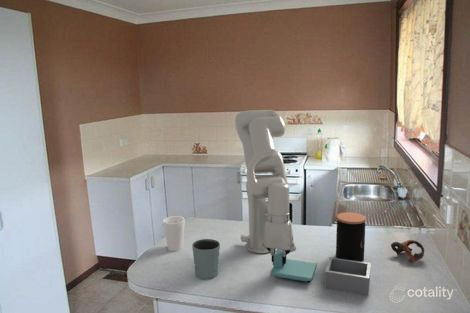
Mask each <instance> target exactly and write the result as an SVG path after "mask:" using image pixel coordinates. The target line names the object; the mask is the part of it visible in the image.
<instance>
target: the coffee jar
mask: <svg viewBox="0 0 470 313" xmlns="http://www.w3.org/2000/svg"><path fill="white" fill-rule="evenodd" d="M336 219H337V221H336V235H335V236H336V237H335V238H336V244H335V258H338V259H345V260H352V261H360V262H364V260H365V246H366V244H365V243H366V241H365V240H366V219H367V218H366V216H365V215H363V214H361V213H357V212H351V211H350V212H349V211H348V212H345V211H344V212H341V213H338V214H337V216H336Z"/></svg>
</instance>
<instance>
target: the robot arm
mask: <svg viewBox="0 0 470 313" xmlns="http://www.w3.org/2000/svg"><path fill="white" fill-rule="evenodd" d="M234 121H235V122H234V123H235V125H234V126H235V129H236V130H235V131H236V132H237V136H238V138H239V139H240V142H241V144H242V148H243V155H244V162H245V167H246V183H245V189H246V196H247V202H248V203H247V205H248V231H249V232H248V235H243V234H241V235H240V240H241V243H242V242H243V243H246V244H245V249H246V251H248V252H250V253H254V254H268V253H270V256H271V262H272V266H274V253H275V252H276V250H277V249H280V250H282V255H283V257H282V267H283V266H284V264H286V259H287V255H289V254H290V253H293V252H295V251H296V250H297V247H296V244H295V242H294V232H293V230H294V228H293V224H292V219H290V187H289V186H290V185H288V178H287V173H286V168H285V164H284V159H283V156H282V154H281V152H279V151H278V150H276V147H275V144H274V139H273V138H281V137H283V136H284V135H285V131H286V126H285V121H284V119H283V118H282V116H280V115H279V114H278V112H276V111H275V110H273V109H253V110H252V109H251V110H248V109H247V110H242V111H240V112H238V113H236V115H235V119H234ZM256 174H257V175H256ZM258 174H263V175H258ZM264 174H266V175H264ZM267 174H268V175H267ZM266 199H267V201H266Z"/></svg>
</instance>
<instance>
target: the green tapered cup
mask: <svg viewBox="0 0 470 313" xmlns="http://www.w3.org/2000/svg"><path fill="white" fill-rule="evenodd" d="M191 247H192V254H193V255H192V256H193V263H194V274H195V277H196V278H197V279H199V280H203V281H205V280H206V281H208V280H213V279H215V278H216V277H217V276H218V275H219V262H220V258H219V257H220V248H221V243H220V242H219V241H218V240H216V239H212V238H203V239H198V240H196V241H194V242H192V246H191Z"/></svg>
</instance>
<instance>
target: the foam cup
mask: <svg viewBox="0 0 470 313" xmlns="http://www.w3.org/2000/svg"><path fill="white" fill-rule="evenodd" d="M162 226H163V229H164V235H165V240H166V245H167V249H168V251H170V252H178V251H179V252H180V251H181V250H182V249H183V248H184V239H185V238H184V237H185V226H186V219H185V217H184V216H182V215H174V216H173V215H172V216H167V217H165V218H163V219H162Z"/></svg>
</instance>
